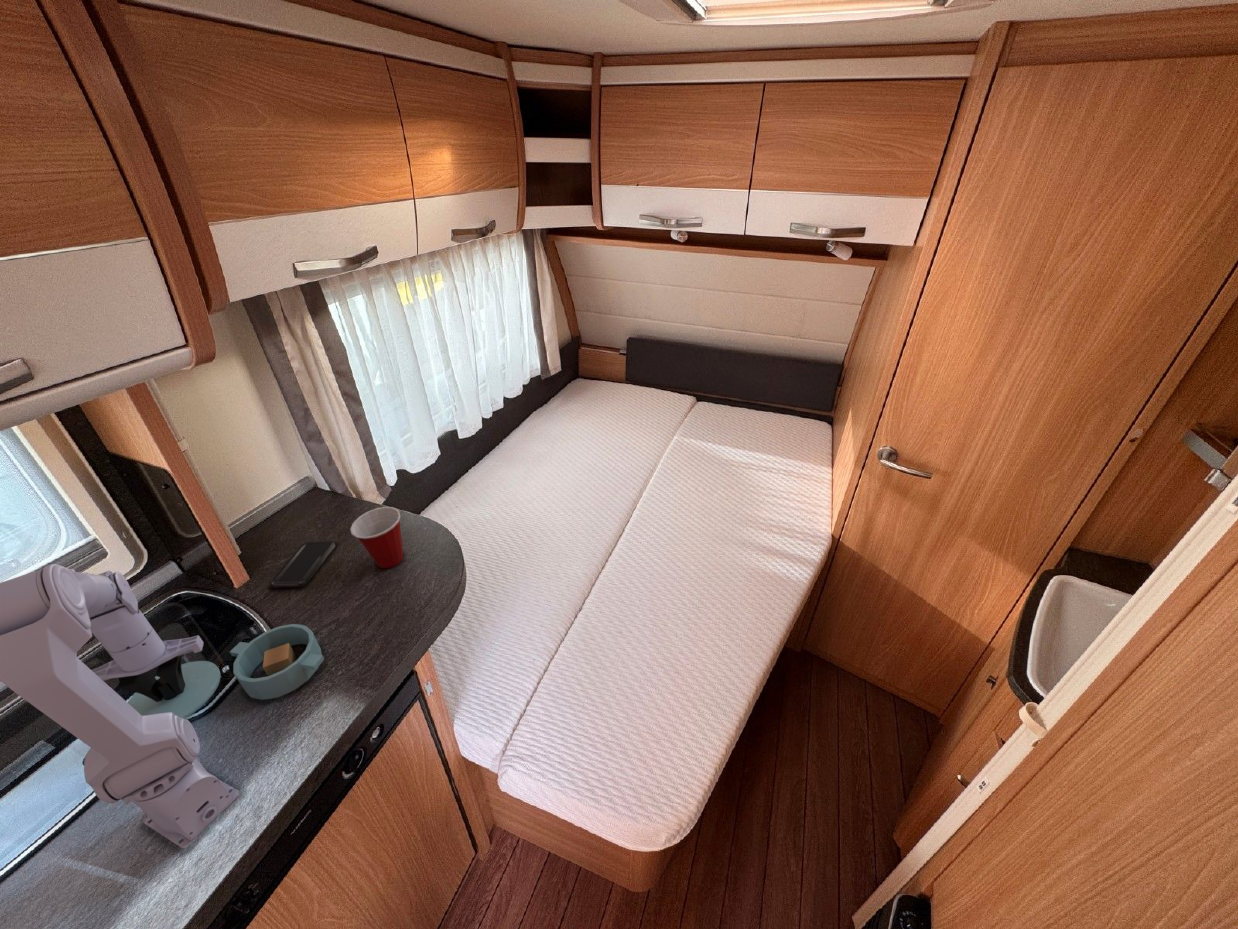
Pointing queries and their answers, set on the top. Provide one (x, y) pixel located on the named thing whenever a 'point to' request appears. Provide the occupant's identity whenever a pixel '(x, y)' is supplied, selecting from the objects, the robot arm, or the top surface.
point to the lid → (196, 693)
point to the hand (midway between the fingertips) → (171, 693)
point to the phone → (303, 564)
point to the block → (278, 659)
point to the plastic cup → (380, 535)
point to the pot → (285, 679)
